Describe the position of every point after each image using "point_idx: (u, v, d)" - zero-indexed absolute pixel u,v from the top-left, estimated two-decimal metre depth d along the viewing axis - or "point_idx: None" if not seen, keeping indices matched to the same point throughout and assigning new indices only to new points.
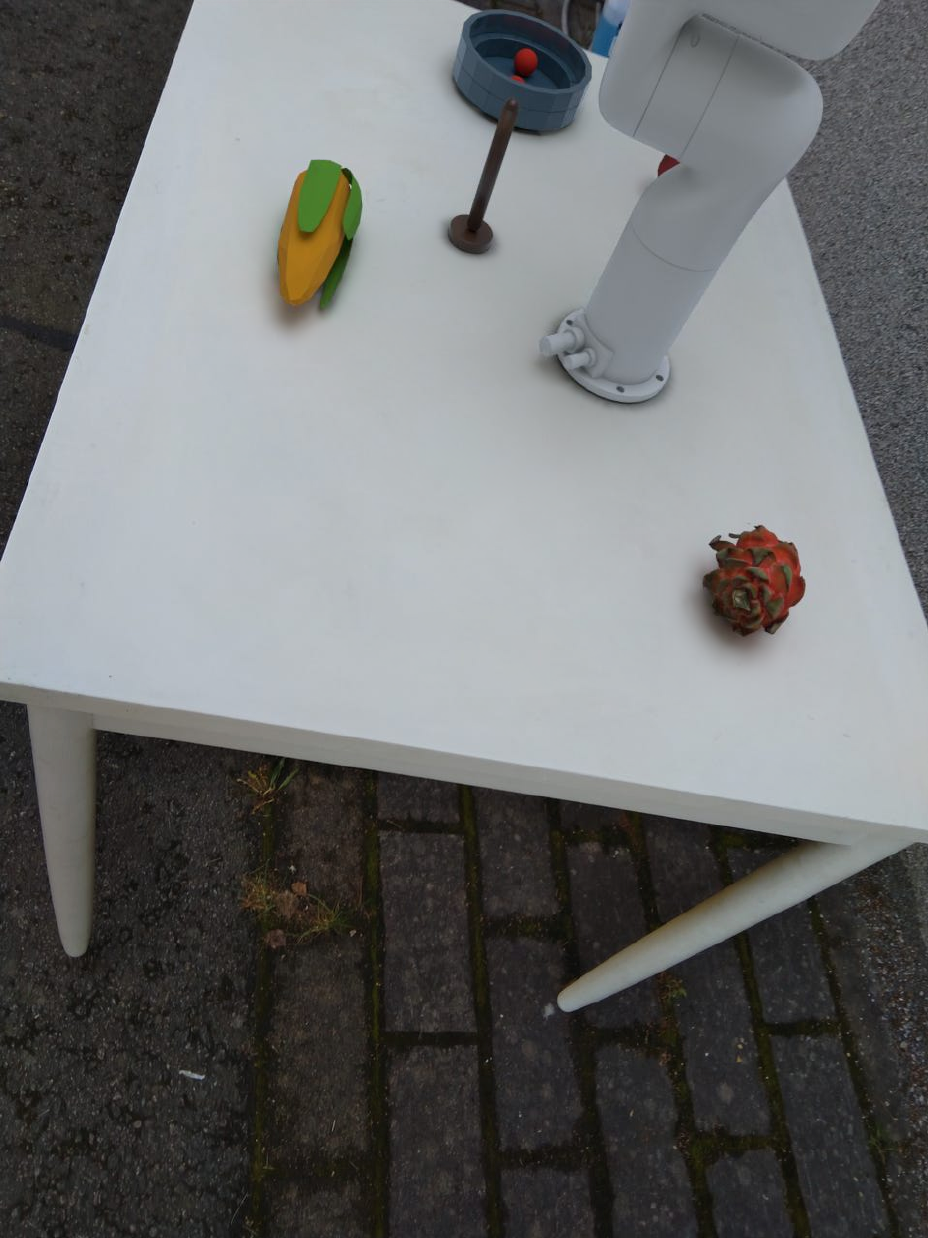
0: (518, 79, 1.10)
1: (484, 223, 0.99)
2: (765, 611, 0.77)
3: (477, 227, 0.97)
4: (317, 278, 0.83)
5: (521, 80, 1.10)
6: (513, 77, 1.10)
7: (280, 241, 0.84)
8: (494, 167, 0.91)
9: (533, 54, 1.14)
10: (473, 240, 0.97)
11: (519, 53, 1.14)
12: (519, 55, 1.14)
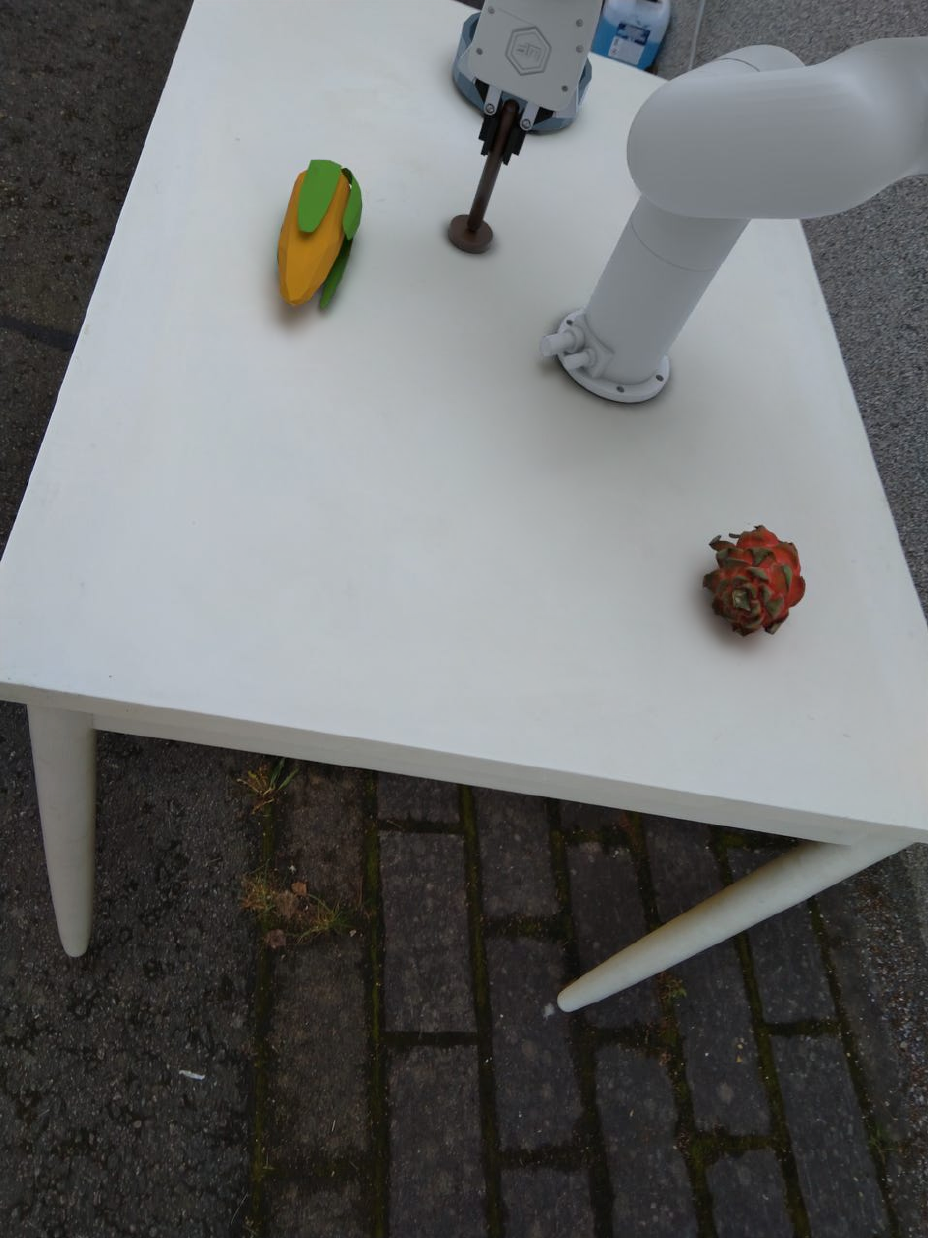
0: None
1: (484, 223, 0.99)
2: (765, 611, 0.77)
3: (477, 227, 0.97)
4: (317, 278, 0.83)
5: None
6: None
7: (280, 241, 0.84)
8: (494, 167, 0.91)
9: None
10: (473, 240, 0.97)
11: None
12: None
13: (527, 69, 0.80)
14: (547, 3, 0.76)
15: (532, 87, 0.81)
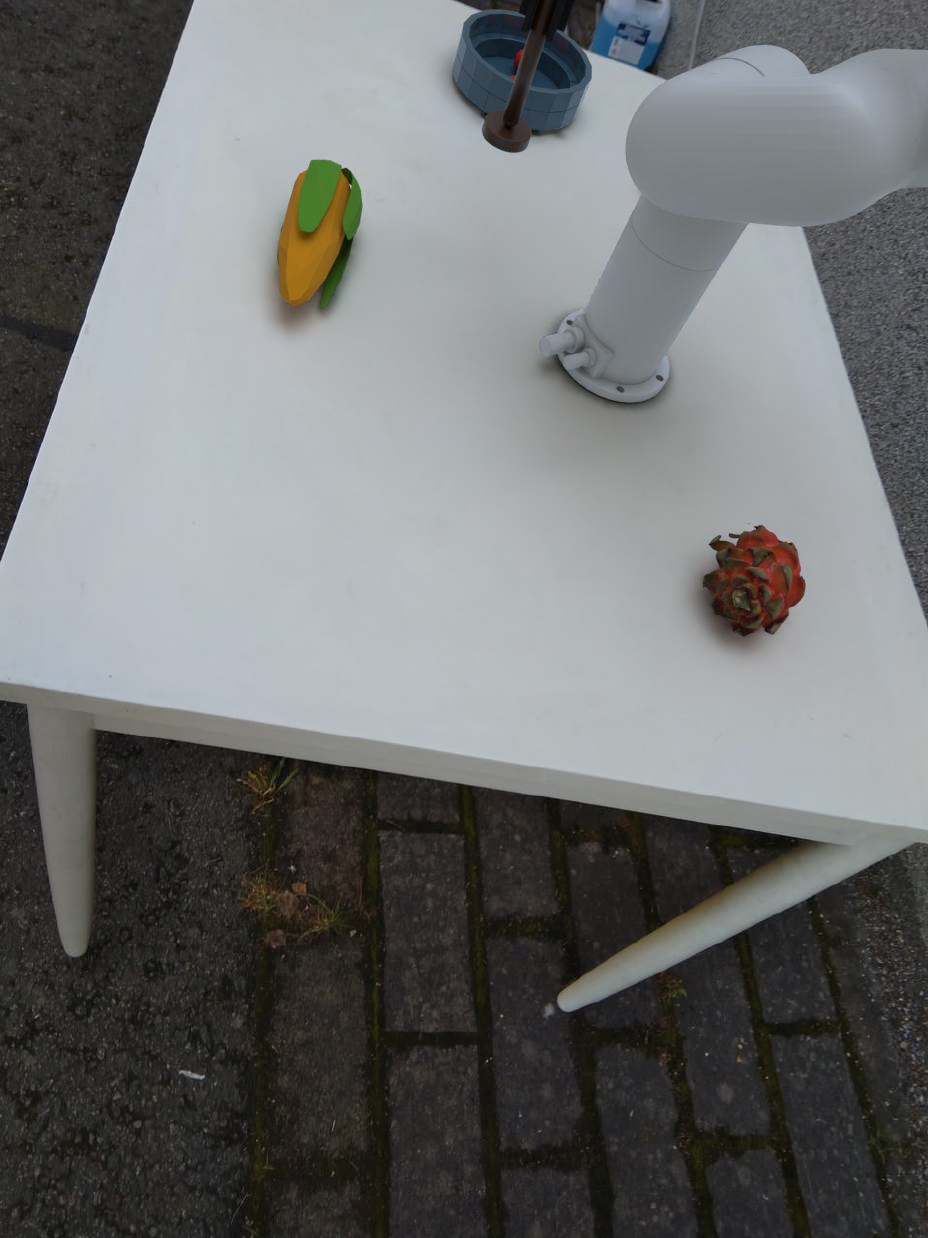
0: None
1: (521, 121, 0.89)
2: (765, 611, 0.77)
3: (514, 123, 0.87)
4: (317, 278, 0.83)
5: None
6: (513, 77, 1.10)
7: (280, 241, 0.84)
8: (536, 47, 0.81)
9: None
10: (510, 137, 0.87)
11: (519, 53, 1.14)
12: (519, 55, 1.14)
13: None
14: None
15: None
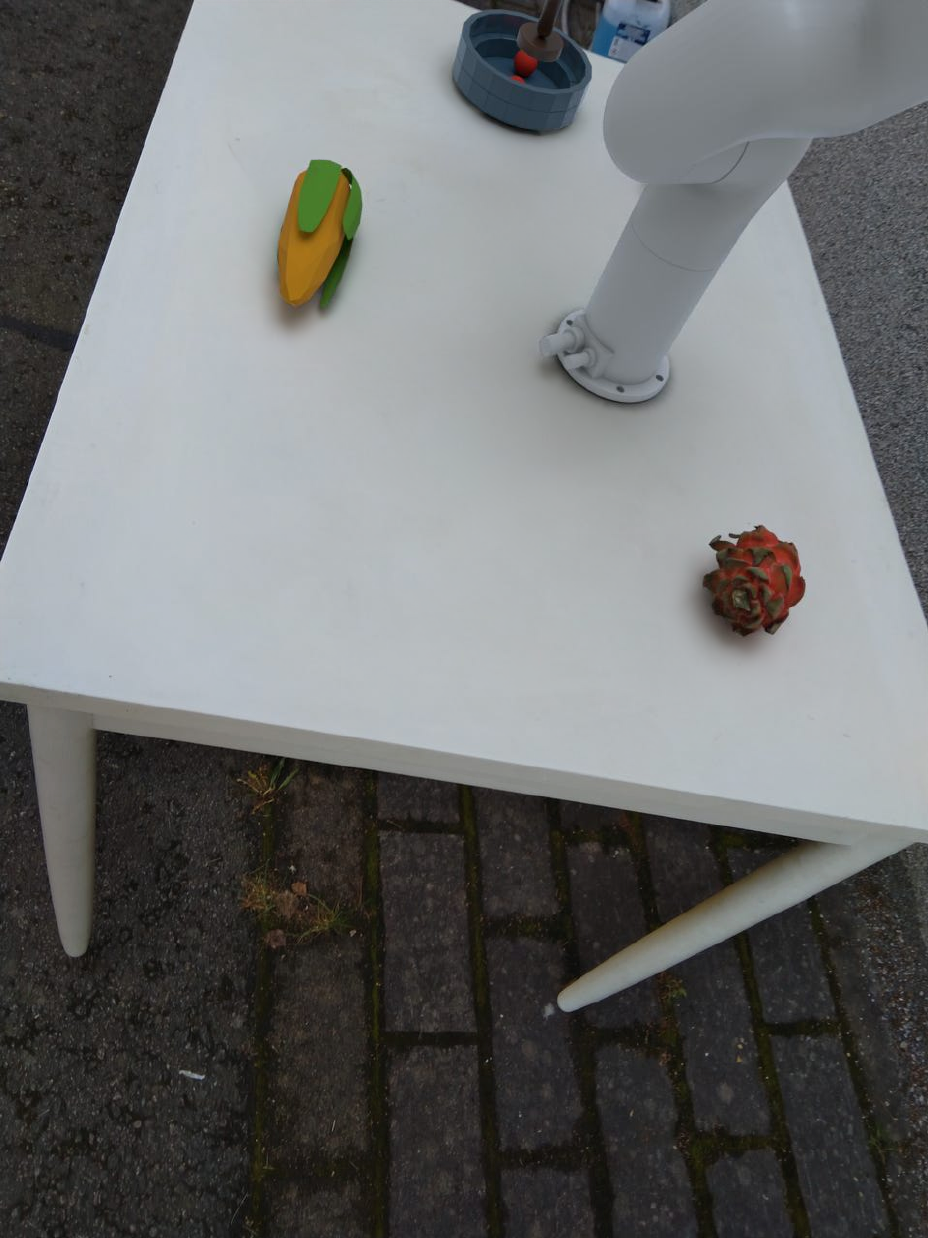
0: (518, 79, 1.10)
1: (553, 32, 0.95)
2: (765, 611, 0.77)
3: (548, 32, 0.93)
4: (317, 278, 0.83)
5: (521, 80, 1.10)
6: (513, 77, 1.10)
7: (280, 241, 0.84)
8: None
9: None
10: (544, 46, 0.93)
11: (519, 53, 1.14)
12: (519, 55, 1.14)
13: None
14: None
15: None
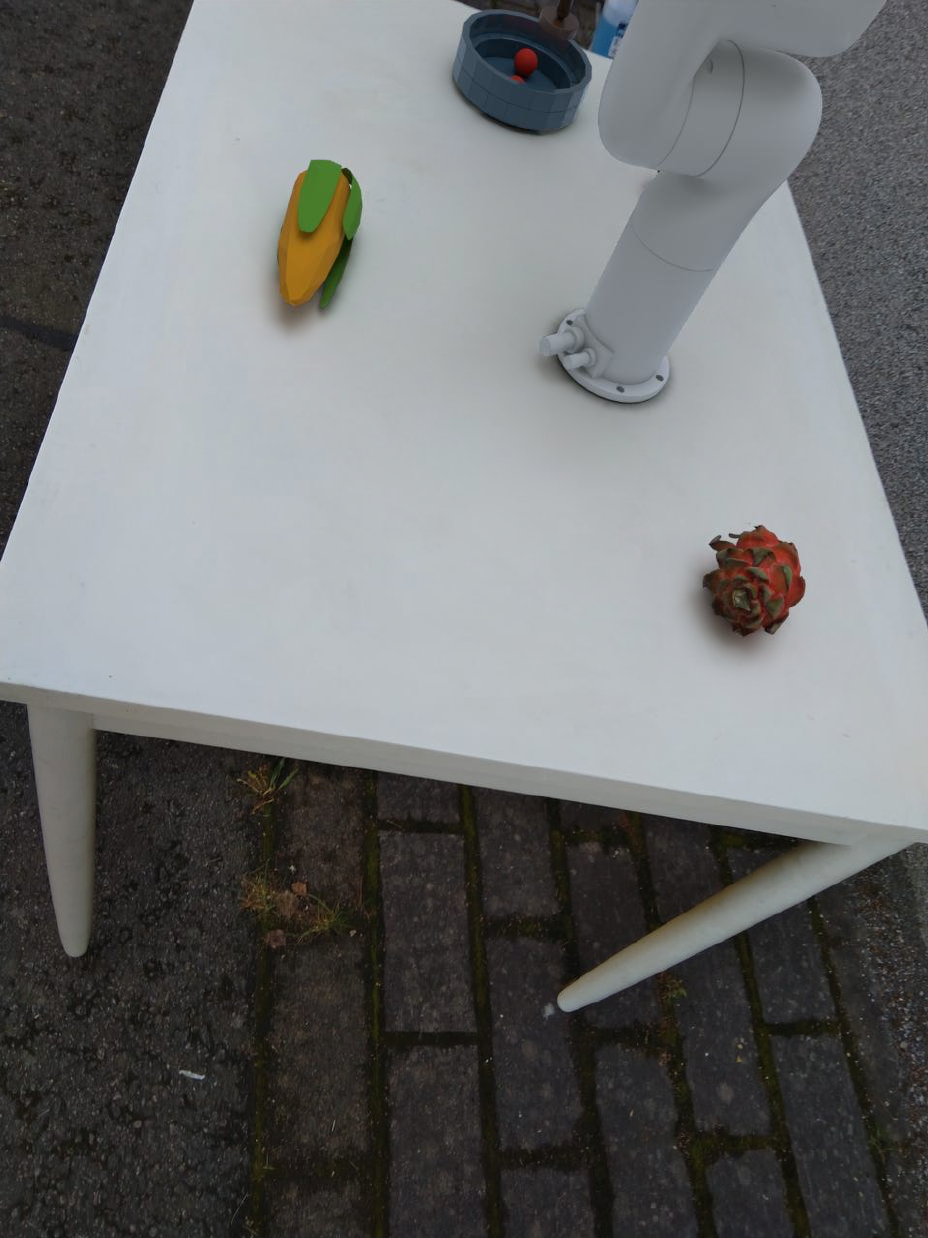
0: (518, 79, 1.10)
1: (570, 14, 1.08)
2: (765, 611, 0.77)
3: (566, 14, 1.06)
4: (317, 278, 0.83)
5: (521, 80, 1.10)
6: (513, 77, 1.10)
7: (280, 241, 0.84)
8: None
9: (533, 54, 1.14)
10: (562, 26, 1.06)
11: (519, 53, 1.14)
12: (519, 55, 1.14)
13: None
14: None
15: None
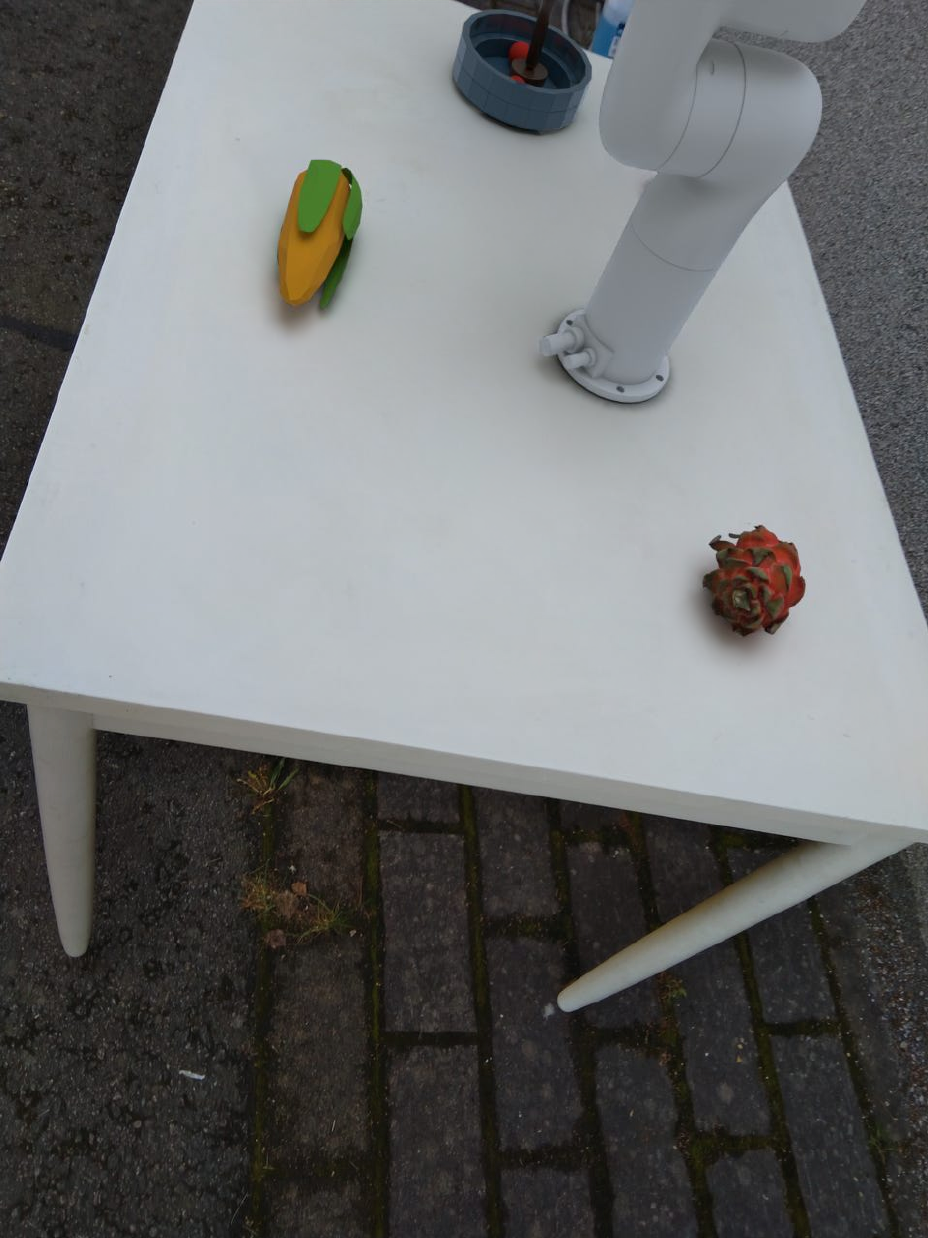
0: (518, 79, 1.10)
1: (540, 64, 1.15)
2: (765, 611, 0.77)
3: (534, 65, 1.13)
4: (317, 278, 0.83)
5: (521, 80, 1.10)
6: (513, 77, 1.10)
7: (280, 241, 0.84)
8: (549, 3, 1.07)
9: (523, 42, 1.15)
10: (531, 76, 1.13)
11: None
12: None
13: None
14: None
15: None
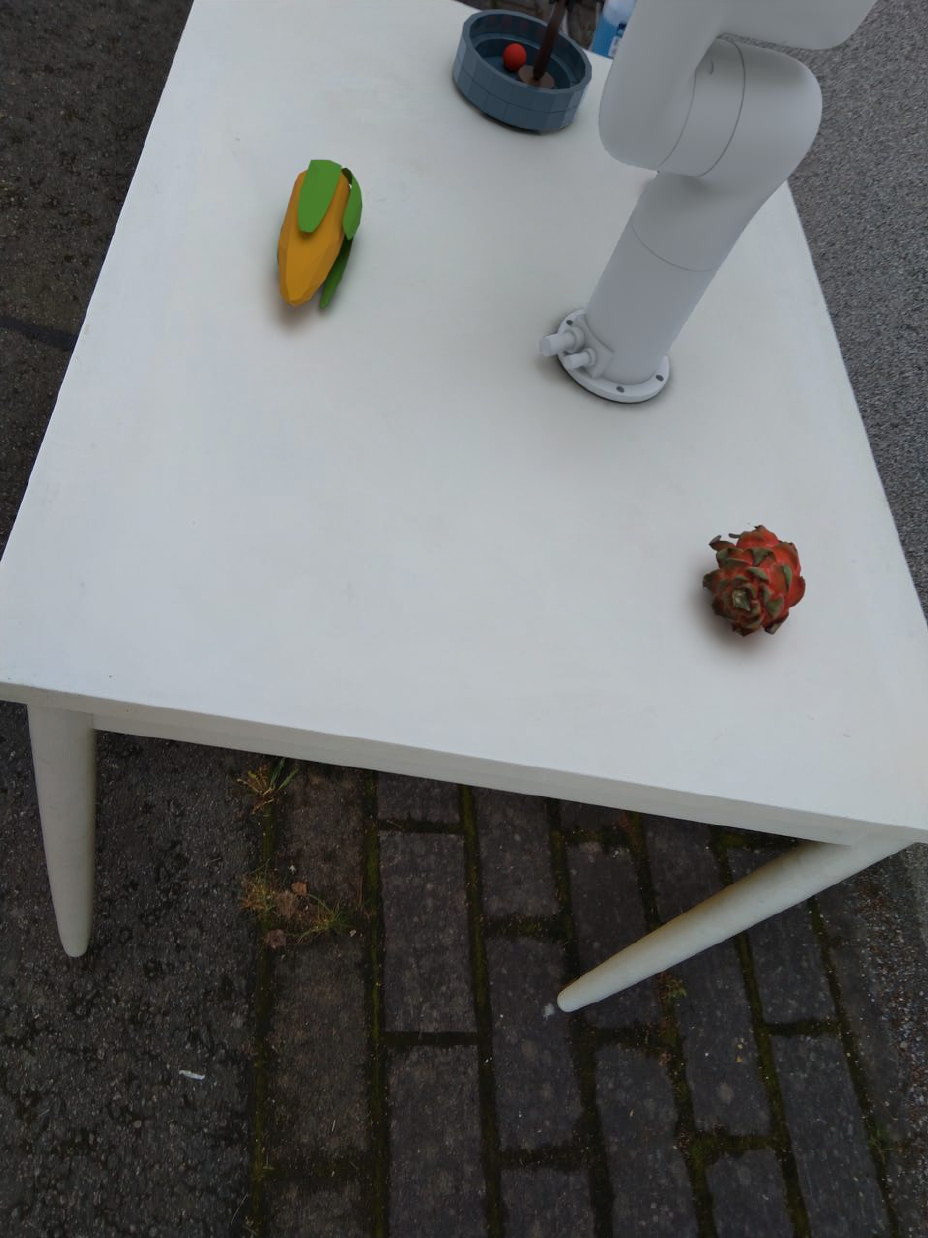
0: None
1: (545, 72, 1.14)
2: (765, 611, 0.77)
3: (542, 74, 1.12)
4: (317, 278, 0.83)
5: None
6: None
7: (280, 241, 0.84)
8: (560, 15, 1.06)
9: (523, 49, 1.14)
10: (539, 86, 1.12)
11: (511, 44, 1.15)
12: None
13: None
14: None
15: None
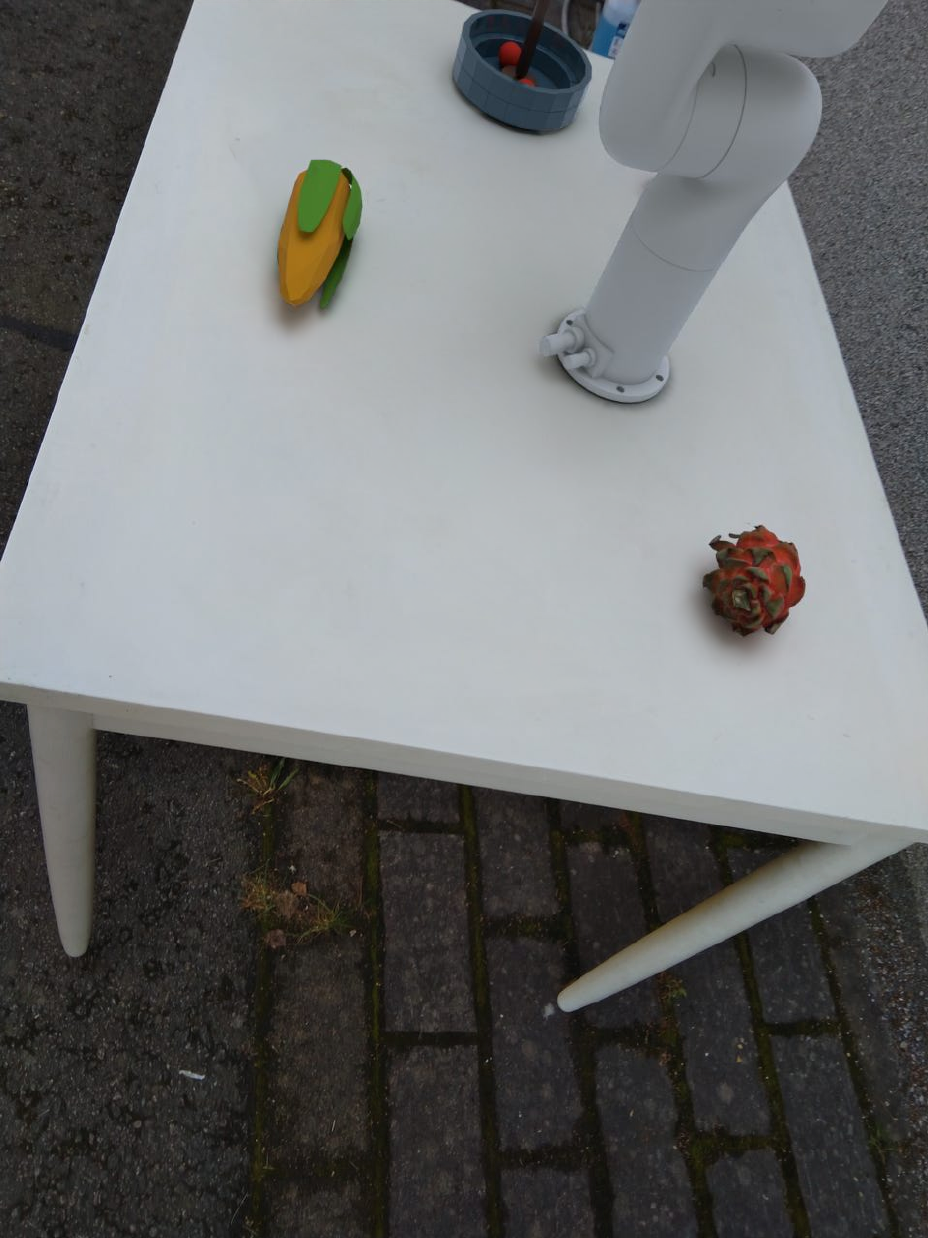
0: None
1: (528, 72, 1.15)
2: (765, 611, 0.77)
3: (525, 74, 1.13)
4: (317, 278, 0.83)
5: None
6: None
7: (280, 241, 0.84)
8: (542, 14, 1.07)
9: (515, 44, 1.14)
10: None
11: None
12: None
13: None
14: None
15: None
